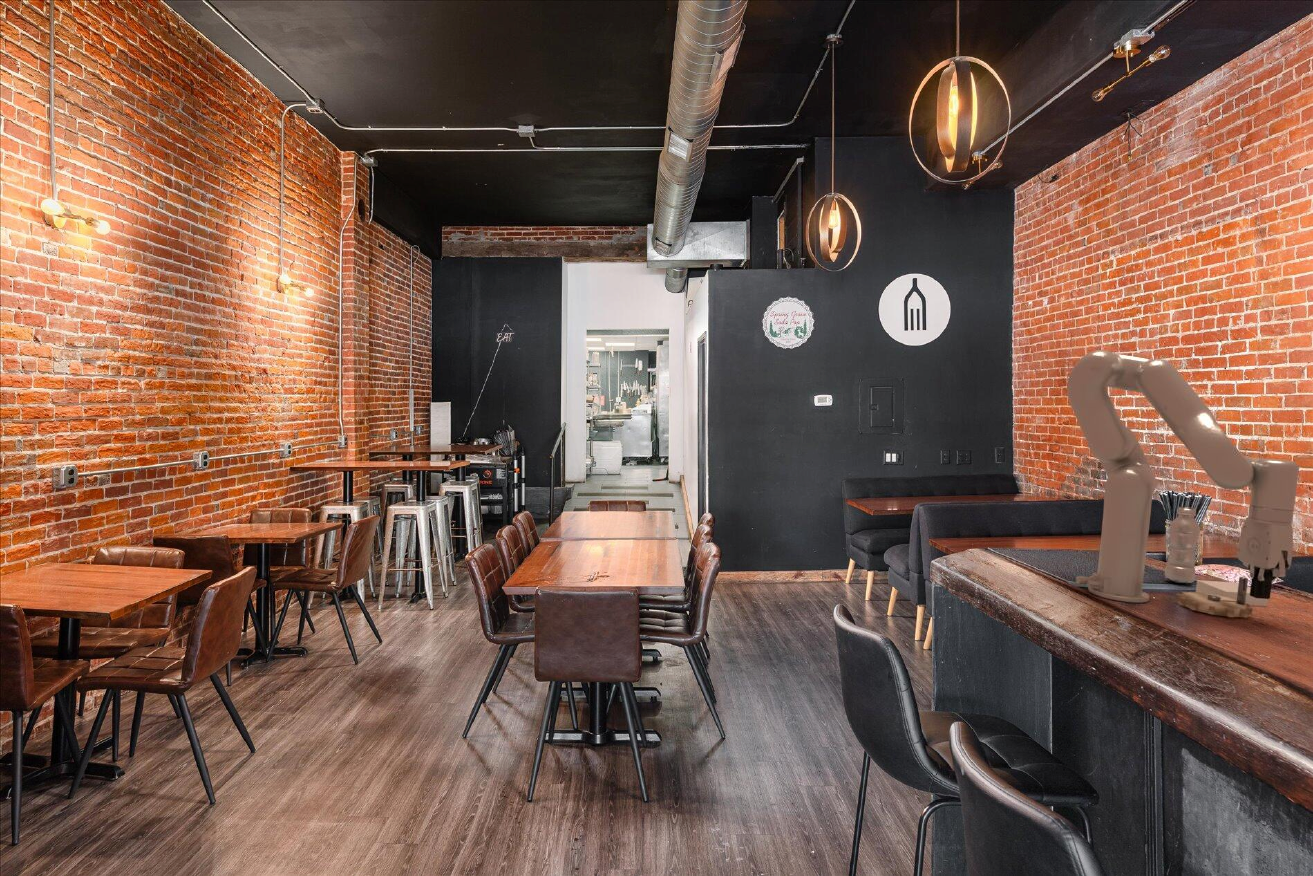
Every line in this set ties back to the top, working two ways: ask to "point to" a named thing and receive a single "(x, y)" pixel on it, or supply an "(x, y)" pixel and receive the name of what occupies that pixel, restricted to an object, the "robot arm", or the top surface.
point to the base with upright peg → (1218, 602)
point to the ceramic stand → (1227, 591)
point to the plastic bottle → (1183, 546)
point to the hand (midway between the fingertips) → (1259, 597)
